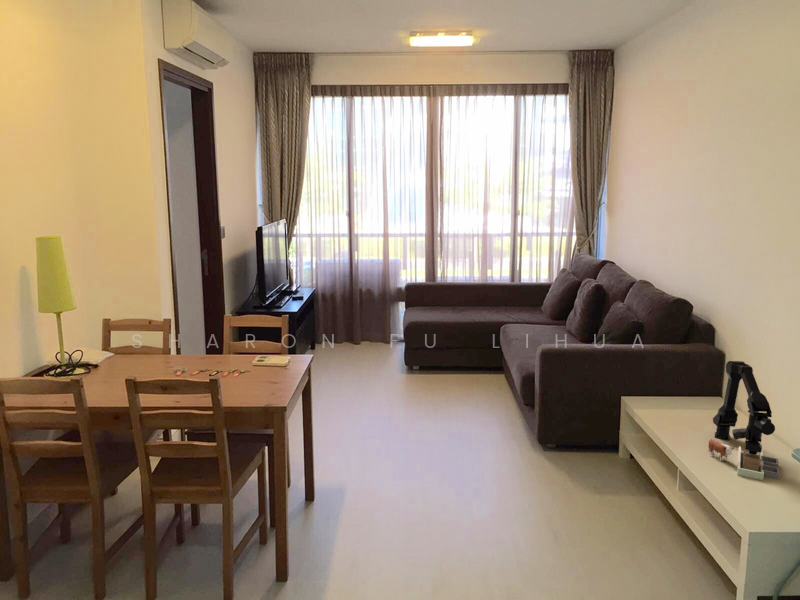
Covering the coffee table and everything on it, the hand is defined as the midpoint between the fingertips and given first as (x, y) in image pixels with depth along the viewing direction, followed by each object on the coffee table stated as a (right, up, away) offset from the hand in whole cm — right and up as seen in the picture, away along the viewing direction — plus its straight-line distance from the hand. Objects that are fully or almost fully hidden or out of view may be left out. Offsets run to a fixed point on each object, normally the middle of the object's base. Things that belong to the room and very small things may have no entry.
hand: (750, 459), depth 280 cm
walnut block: (-2, -2, -4) cm, 5 cm away
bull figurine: (-12, -1, +3) cm, 13 cm away
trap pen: (+1, -2, -4) cm, 4 cm away
